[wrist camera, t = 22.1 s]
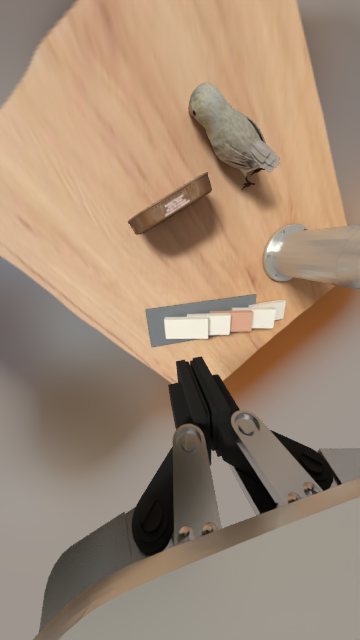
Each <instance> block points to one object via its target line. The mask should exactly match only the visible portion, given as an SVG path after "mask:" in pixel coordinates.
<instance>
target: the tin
mask: <svg viewBox="0 0 360 640" xmlns="http://www.w3.org/2000/svg"><path fill="white" fill-rule="evenodd" d="M211 191H212V188H211V184H210V181H209V178H208V172H206V173H204V174H202V175H200V176H199V177H197V178H195V179H193V180H192V181H190V182H188V183H187V184H185V185H183V186H182V187H180V188H179V189H177V190H175V191H174V192H172V193H170V194H169V195H167V196H165V197H164V198H162V199H160V200H159V201H157V202H156V203H154V204H152V205H151V206H149V207H147V208H146V209H144V210H143V211H141V212H140V213H138V214H137V215H135V216H134V217H133V218H131V219H130V220H129V221H128V223H129V224H130V225H131V227H132V229H133V231H134V232H135V234H136V235H138V234H142V233H144V232H146V231H148V230H149V229H151V228H153V227H154V226H156V225H158V224H160V223H161V222H163V221H165V220H166V219H168V218H170V217H171V216H173V215H175V214H176V213H178V212H180V211H181V210H183V209H185V208H186V207H188V206H189V205H191V204H193V203H194V202H196V201H197V200H199V199H201V198H202V197H204V196H205V195H207V194H208V193H210V192H211Z"/></svg>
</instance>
